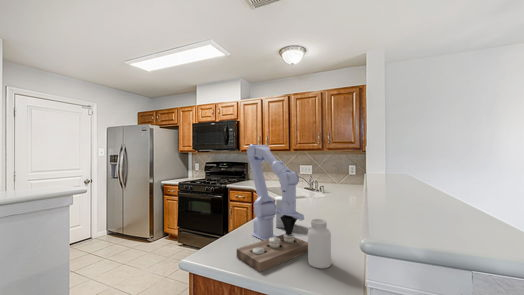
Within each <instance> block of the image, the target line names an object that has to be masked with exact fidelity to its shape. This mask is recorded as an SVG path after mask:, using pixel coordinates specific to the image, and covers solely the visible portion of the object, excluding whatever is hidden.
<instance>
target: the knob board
mask: <svg viewBox="0 0 524 295" xmlns="http://www.w3.org/2000/svg"><path fill="white" fill-rule="evenodd" d="M284 234H285V233H283V234H280V235H276V238H279V239H280V248H278V249H275V250H274V249H272V248H270V247H269V239H267V240H261V241H258V242H254V243H251V244H248V245H244V246H242V247H238V248H236V258H237V259H238V260H241V261H243V262H244V263H246V264H247V265H249V267H252V268H253V269H255V270H257V271H258V272H259V273H260V272H263V271H266V270H267V269H270V268H273V267H275V266H277V265H281V264H282V263H284V262H287V261H289V260H292V259H294V258H296V257H299V256H301V255H304V254H306V253H308V241H305V240H303V239H300V238H297V237H295V236H294V243H292V244H287V243H284V237H283V235H284ZM254 248H263V249H264V254H261V255H258V256H257V255H255V254H253V249H254Z"/></svg>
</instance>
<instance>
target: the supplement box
mask: <svg viewBox="0 0 524 295" xmlns="http://www.w3.org/2000/svg"><path fill="white" fill-rule="evenodd" d="M274 203H275V204H276V206H277V208H280V209H282V195H281V196H280V195H279V196H275V199H274ZM282 216H283V215H281V214H279V213H276V215H275V217H274V218H275V219H274V223H275V227H276V228H279V229H280V228H283V229H285V228H284V225H283V222H282V220H281V217H282Z"/></svg>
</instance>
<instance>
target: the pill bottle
mask: <svg viewBox="0 0 524 295" xmlns="http://www.w3.org/2000/svg"><path fill="white" fill-rule="evenodd" d="M310 224H311V227H309V228H308V230H307V242H308V252H307V260H308V261H307V262H308V264H309V265H310V266H311V267H313V268H316V269H328V268H329V267H331V265H332V233H331V231H330V230H329V229H328V227H327V226H328V225H327V221H326V220H325V219H321V218H313V219H312V220H310Z"/></svg>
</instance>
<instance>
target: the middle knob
mask: <svg viewBox="0 0 524 295" xmlns="http://www.w3.org/2000/svg"><path fill="white" fill-rule="evenodd" d="M269 247H270V248H272V249H274V250H275V249H278V248H280V239H279V238H276V237H273V238H269Z"/></svg>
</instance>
